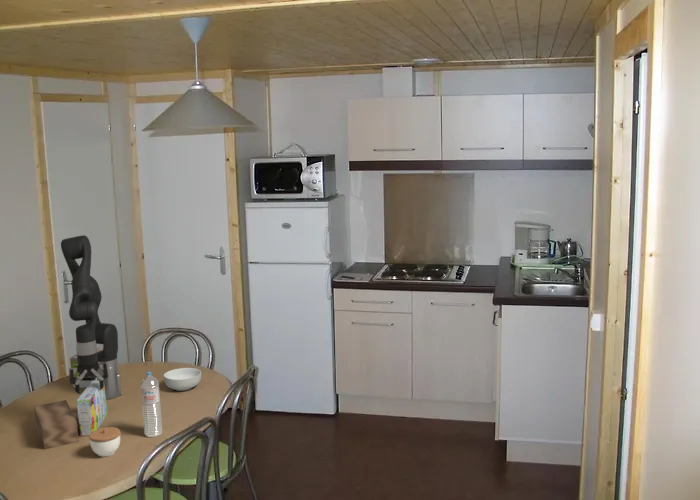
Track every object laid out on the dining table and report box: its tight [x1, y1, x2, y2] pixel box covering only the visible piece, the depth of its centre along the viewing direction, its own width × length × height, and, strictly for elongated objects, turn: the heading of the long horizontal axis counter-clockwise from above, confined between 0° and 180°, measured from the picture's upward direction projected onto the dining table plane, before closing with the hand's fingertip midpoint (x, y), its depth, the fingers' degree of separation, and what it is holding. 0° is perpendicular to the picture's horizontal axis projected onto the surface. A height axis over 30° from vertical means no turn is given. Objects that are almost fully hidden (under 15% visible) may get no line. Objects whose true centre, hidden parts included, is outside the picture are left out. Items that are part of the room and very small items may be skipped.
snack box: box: [75, 381, 108, 437], centre depth 278 cm, size 21×6×15 cm, turn 5°
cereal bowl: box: [163, 367, 202, 392], centre depth 317 cm, size 17×17×7 cm
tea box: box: [69, 347, 103, 389], centre depth 327 cm, size 15×10×15 cm, turn 172°
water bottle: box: [139, 371, 163, 438], centre depth 267 cm, size 7×7×25 cm
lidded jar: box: [88, 426, 121, 458], centre depth 253 cm, size 11×11×9 cm
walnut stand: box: [34, 399, 80, 450], centre depth 271 cm, size 12×26×8 cm, turn 30°
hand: (89, 391), depth 276 cm, fingers open, 8 cm apart
